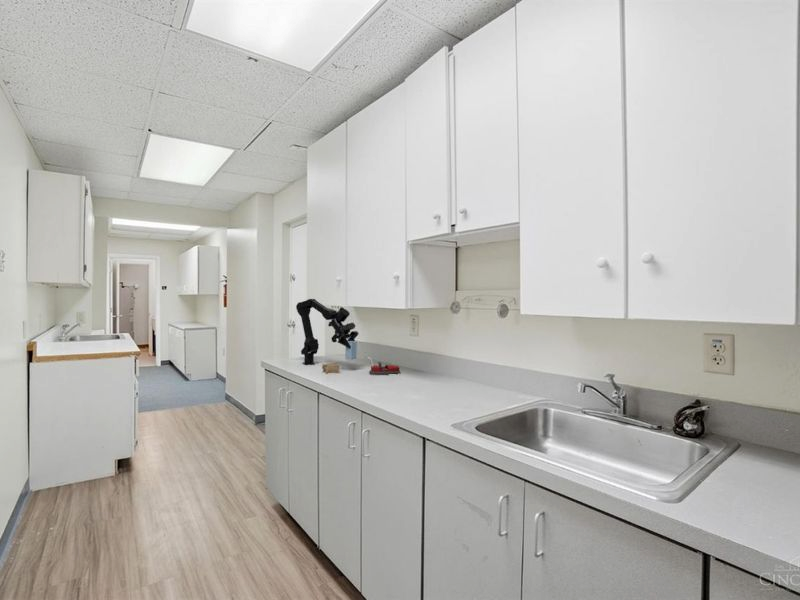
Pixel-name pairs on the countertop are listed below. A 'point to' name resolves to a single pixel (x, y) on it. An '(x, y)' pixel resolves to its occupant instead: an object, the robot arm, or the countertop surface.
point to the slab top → (330, 366)
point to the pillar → (351, 350)
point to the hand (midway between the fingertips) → (352, 347)
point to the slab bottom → (330, 371)
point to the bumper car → (383, 369)
